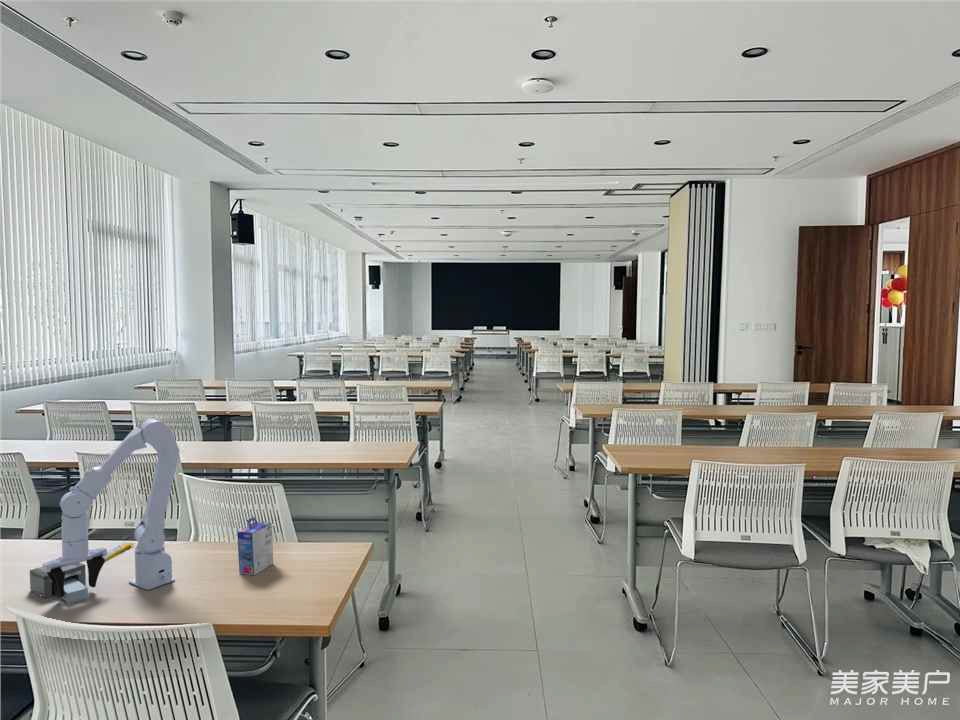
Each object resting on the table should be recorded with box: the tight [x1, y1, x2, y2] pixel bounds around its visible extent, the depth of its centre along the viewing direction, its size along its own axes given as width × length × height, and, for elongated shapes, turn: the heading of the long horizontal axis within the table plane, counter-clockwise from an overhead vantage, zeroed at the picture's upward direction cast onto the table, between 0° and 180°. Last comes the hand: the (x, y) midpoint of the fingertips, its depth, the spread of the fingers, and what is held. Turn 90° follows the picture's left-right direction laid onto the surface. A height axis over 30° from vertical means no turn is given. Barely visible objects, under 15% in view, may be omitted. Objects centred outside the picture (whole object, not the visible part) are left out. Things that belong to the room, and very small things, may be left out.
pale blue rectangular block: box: [52, 576, 89, 604], centre depth 169 cm, size 15×4×3 cm, turn 49°
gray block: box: [29, 562, 87, 598], centre depth 172 cm, size 9×10×6 cm
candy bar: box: [102, 542, 135, 563], centre depth 198 cm, size 17×4×2 cm, turn 175°
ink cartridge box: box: [236, 516, 274, 576], centre depth 186 cm, size 10×6×14 cm, turn 165°
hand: (76, 591), depth 167 cm, fingers open, 7 cm apart
